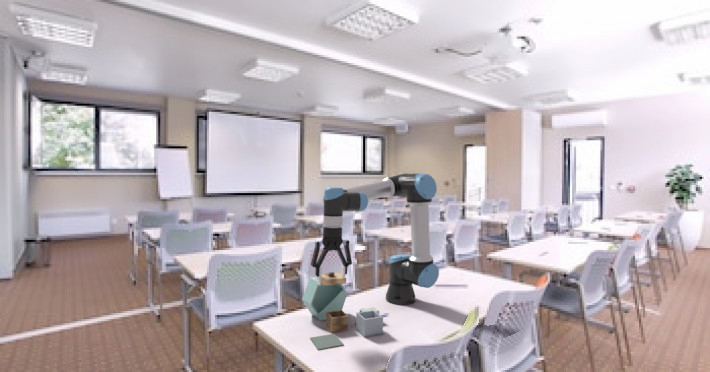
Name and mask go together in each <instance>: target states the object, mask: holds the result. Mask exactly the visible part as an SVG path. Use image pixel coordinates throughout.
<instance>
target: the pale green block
mask: <svg viewBox="0 0 710 372" xmlns="http://www.w3.org/2000/svg"><path fill="white" fill-rule="evenodd" d="M371 310H374V311H376V312H377V313H378V314H380V310H379V309H377V308H376V307H374V306H372V307H371V306H370V307H368V308H366V307H365V308H361V309H359V312H365V311H371Z"/></svg>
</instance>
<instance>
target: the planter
mask: <svg viewBox="0 0 710 372" xmlns="http://www.w3.org/2000/svg"><path fill="white" fill-rule="evenodd" d="M317 281H318V280H317V276H316V275H315V276H310V277H309V279H308V282H307V285H306V288H305V290H304V293H303V295H302V299H301V301H302V302H303V304H304V305H305V306H306V309H307V310H308V312H309V313H310V314H311V316H313V317H315V318H316V319H318V320H319V321H326V312H332V311H339V310H342V311H343V309H344V304H345V302H346V299H347V296H348V292H347V289H345V287H344V284H337V285H326V286H324V285H323V284H321V285H320V286H319V285H318V284H317Z"/></svg>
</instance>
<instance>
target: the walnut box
mask: <svg viewBox="0 0 710 372" xmlns="http://www.w3.org/2000/svg"><path fill="white" fill-rule="evenodd" d="M325 328H327V330H328V331H329V333H330V334H335V333H336V334H337V333H341V332H346V331H349V315H348V314H347V313H345V312H344V311H343V309H342V310H339V311H332V312H326V319H325Z"/></svg>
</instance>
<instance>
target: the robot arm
mask: <svg viewBox="0 0 710 372" xmlns="http://www.w3.org/2000/svg"><path fill="white" fill-rule="evenodd" d="M437 189H438V188H437V182H436V180H435V179H434V178H433V176H432V175H430V174H427V173H402V174H401V173H400V174H396V175H393V176H390V177H386V178H383V179H382V180H381V181H377V182H373V183H366V184H363V185H358V186H353V187H348V188H343V187H334V186H333V187H329V186H328V187H326V188H324V191H323V199H322V202H323V217H322V218H323V220H322V221H323V223H322V226H324V227H323V228H322V239H321V240H315V241H314V250H313V254H312V257H311V262H310V266H311V267H312V268H315V272H314V273H315V276H317V277H318V281H317V284H318V285H319V286H320V285H321V280H322V274H323V273H322V272H323V268H322V267H321V266H322V264H323V262H324V260H325V259H326V256H327V254H328V253H329V252H331V251H336V252H337V255H338V257H339V259H340V260H341V264H342V265H340V274H341V275H342V276H344V277H345V278H346V275H348V267H349V266H351V265H353V262H352V261H353V260H352V256H351V250H350V240H348V239H343V227H342V226H343V213H344V212H350V211H351V212H355V211H356V212H359V211H365V210H366V209H367V207H368V205H369V201H371V200H376V199H380V198H385V197H386V198H393V197H398V198H399V197H402V198H406V203H407V204H408V205H409V206H410V208H409V209H410V235H411V237H410V238H411V240H410V241H411V254H408V253H405V254H404V253H403V254H401V253H400V254H393V255H390V258H389V270H388V271H389V274H388V275H389V279H388V281H389V282H388V283H389V284H388V288H387V290H386V292H385V301H386V302H388V303H391V304H393V305H401V306H402V305H411V304H414V303H415V302H416V294H415V290H414V286H418V287H420V288H424V289H425V288H426V289H429V288H432V287H433V286H434V285H435V284H436V283H437V281H438V279H439V276H440V269H439V267H438V265H436V264H435V263H434V257H433V256H432V255H431V249H430V248H431V247H430V246H431V245H430V244H431V243H430V241H431V240H430V213H429V212H430V211H429V210H430V207H429V206H430V204H431V203H432V202H433V200H432V199H433V198H434V197H435V196H436V194H437ZM322 245H323V248H322V252H321V253H320V248H321V246H322ZM341 245H343V248H344V253H345V256H344V253H343V251H342V248H341ZM319 253H320V255H319ZM413 285H414V286H413Z"/></svg>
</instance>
